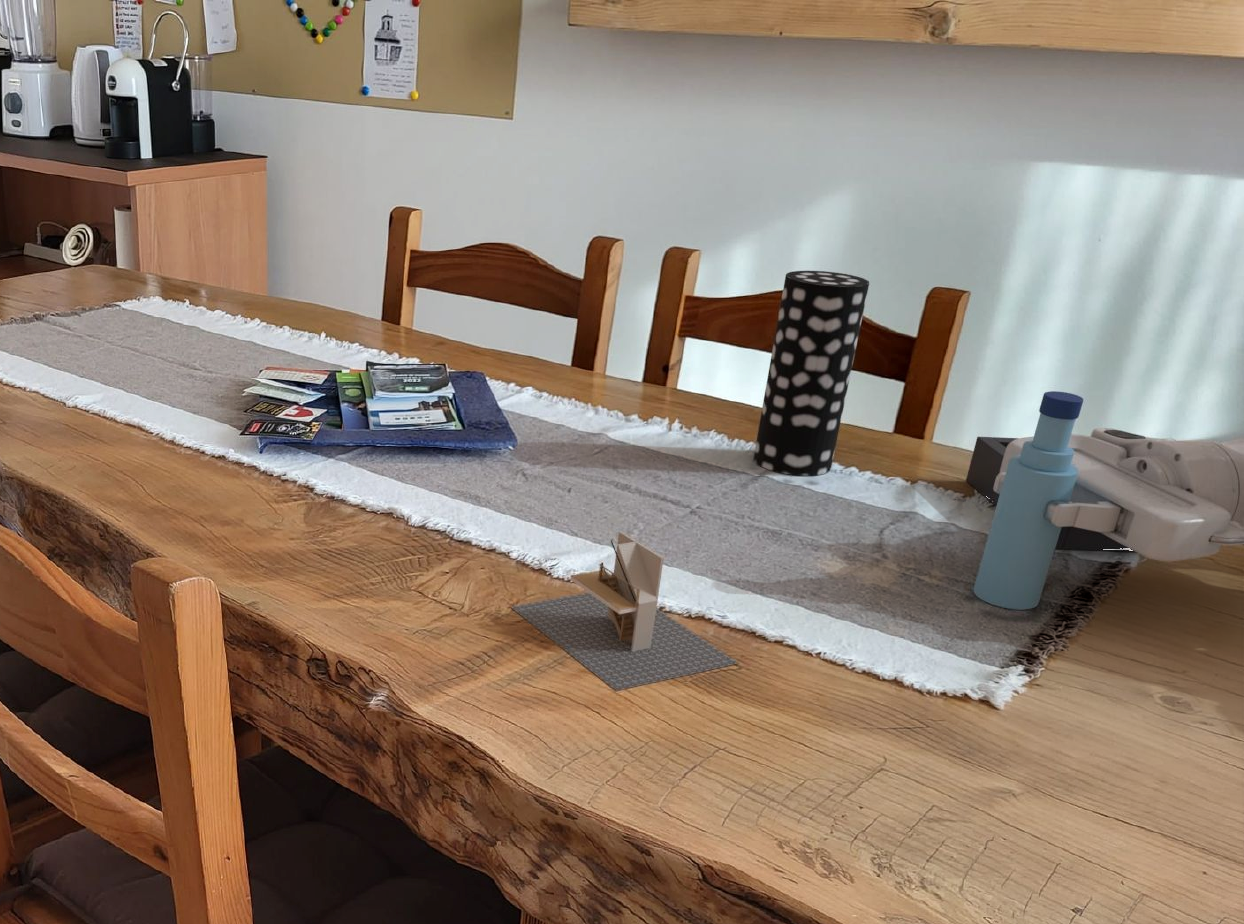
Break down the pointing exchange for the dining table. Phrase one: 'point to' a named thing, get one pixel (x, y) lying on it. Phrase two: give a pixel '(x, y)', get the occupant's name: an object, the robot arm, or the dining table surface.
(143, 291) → the dining table surface
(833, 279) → the spotted tube
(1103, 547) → the holder
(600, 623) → the architectural model
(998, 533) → the bottle
